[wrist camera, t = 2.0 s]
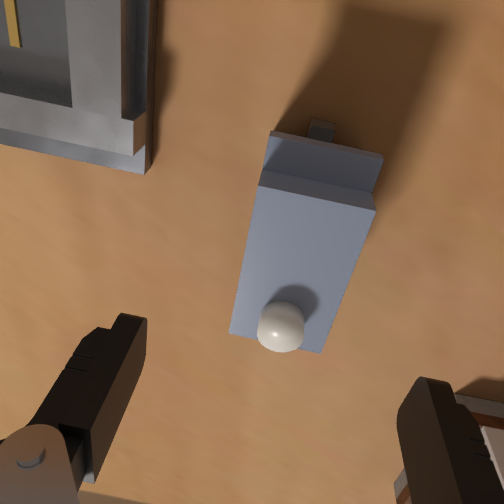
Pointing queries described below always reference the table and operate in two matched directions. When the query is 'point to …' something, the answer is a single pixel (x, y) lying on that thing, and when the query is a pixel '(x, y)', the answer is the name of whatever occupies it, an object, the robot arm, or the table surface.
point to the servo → (303, 238)
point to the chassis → (79, 79)
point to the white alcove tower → (494, 432)
